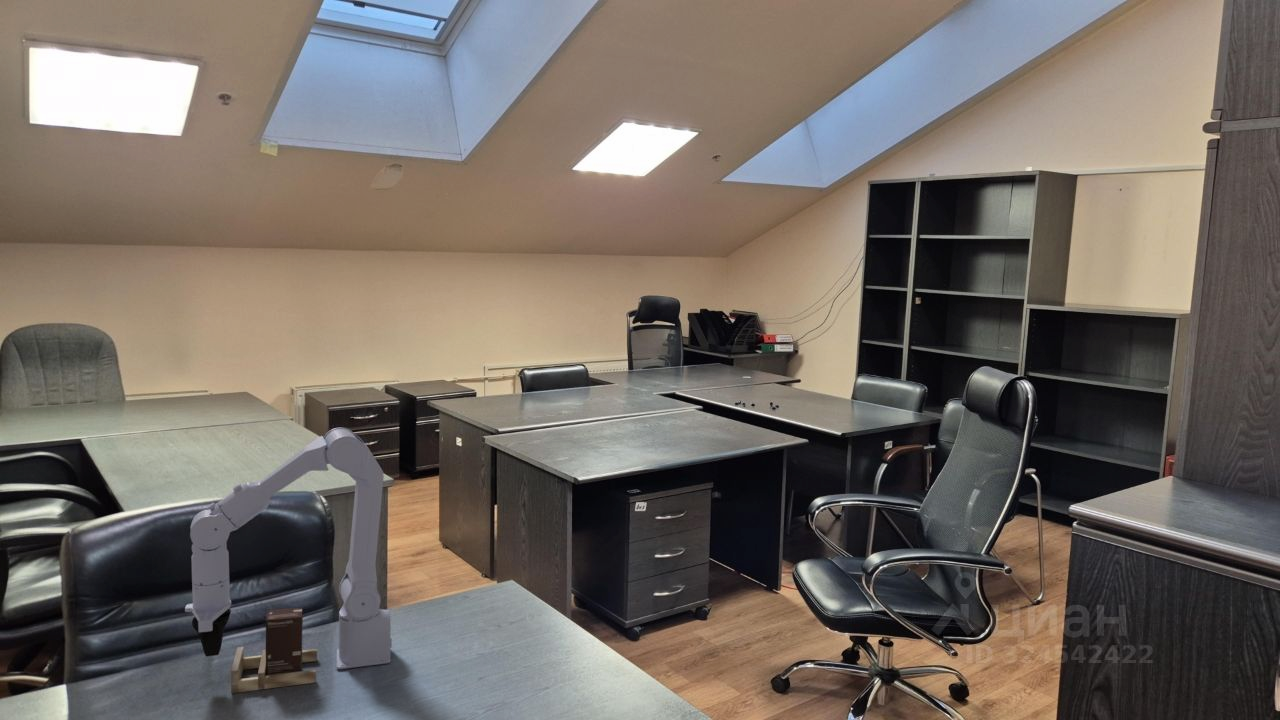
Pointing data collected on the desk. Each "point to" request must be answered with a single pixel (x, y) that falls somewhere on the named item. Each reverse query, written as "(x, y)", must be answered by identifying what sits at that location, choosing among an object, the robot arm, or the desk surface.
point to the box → (284, 641)
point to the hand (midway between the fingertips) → (212, 654)
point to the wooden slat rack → (262, 679)
